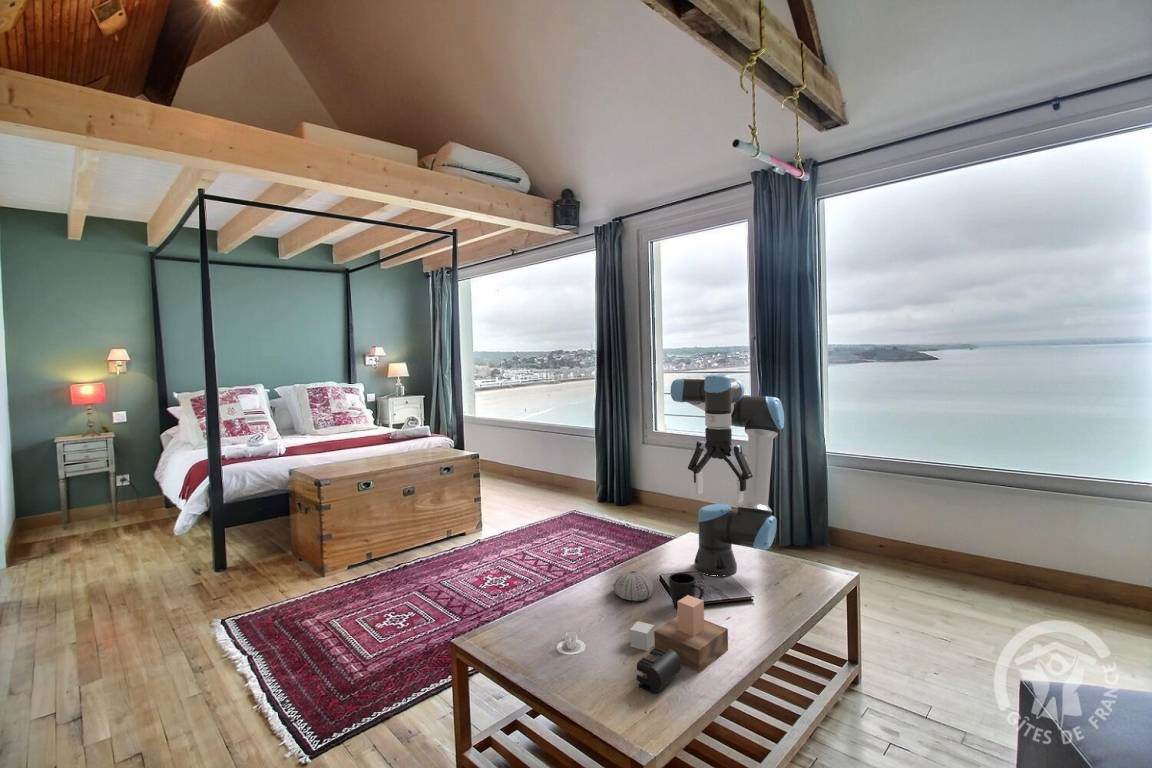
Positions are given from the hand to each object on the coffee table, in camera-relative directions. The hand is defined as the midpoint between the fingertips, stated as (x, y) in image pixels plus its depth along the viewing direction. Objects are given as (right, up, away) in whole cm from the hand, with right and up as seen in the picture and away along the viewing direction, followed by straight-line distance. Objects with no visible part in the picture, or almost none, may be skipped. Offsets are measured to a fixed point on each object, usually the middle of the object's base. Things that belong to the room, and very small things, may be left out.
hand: (719, 497), depth 165 cm
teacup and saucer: (-41, -40, -10) cm, 58 cm away
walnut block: (-12, -38, -16) cm, 43 cm away
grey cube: (-24, -39, -11) cm, 47 cm away
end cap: (-22, -40, -29) cm, 54 cm away
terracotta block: (-12, -32, -16) cm, 38 cm away
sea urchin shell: (-23, -37, +19) cm, 47 cm away
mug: (-8, -37, +8) cm, 38 cm away
